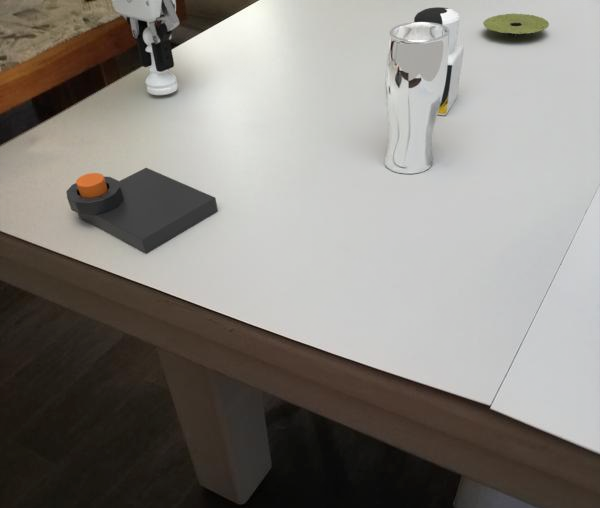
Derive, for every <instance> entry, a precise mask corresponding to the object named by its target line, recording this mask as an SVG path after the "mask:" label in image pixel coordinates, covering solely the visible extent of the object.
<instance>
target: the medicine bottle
mask: <svg viewBox="0 0 600 508" xmlns="http://www.w3.org/2000/svg"><path fill="white" fill-rule="evenodd" d="M460 21H461V17H460V14H459V13H458V12H457V11H455V10H454V9H452V8H449V7H440V6H439V7H438V6H437V7H436V6H435V7H429V8H424V9H423V10H421V11H419V12H417V13H416V15H415V16H414V19H413V22H432V23H438V24H441V25H444V26H446V27H447V28H449V30H450V33H449V52H448V66H447V75H446V82H445V87H444V92H443V96H442V100H441V103H440V107H439V110H438V114H437V116H443V117H444V116H447V114H448V113H449V111H450V109H451V108H452V106H453V104H454V103H455V101H456V100H457V98H458V96H459V95H458V94H459V87H460V80H461V72H462V65H463V56H464V49H465V48H464V46H463V45H461V44H457V43H458V35H459V27H460Z"/></svg>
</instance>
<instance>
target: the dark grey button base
mask: <svg viewBox="0 0 600 508" xmlns="http://www.w3.org/2000/svg"><path fill="white" fill-rule="evenodd" d="M104 179H105V182H106V185H107V188H108V190H107V192H106V193H104V194H102V195H100V196H95V197H82V196H81V195H80V193H79V190H78V187H77V184H76V182H75V183H73V184H71V185H70V186H69V188H68V189H67V190H66V198H67V200H68V204H69V206H70V210H71V211H72V212H74V213H76V214H77V216H78V218H79V219H81V220H82V221H85V222H86V223H88V224H90V225H92V226H93V227H95V228H97V229H99V230H101V231H103V232H105V233H107V234H108V235H110V236H112V237H114V238H116V239H118V240H120V241H122V242H123V243H126V244H127V245H129V246H130V247H132V248H134V249H136V250H138V251H140V252H142V253H143V254H145V255H148V254H149V253H151V252H152V251H154V250H156V249H157V248H159V247H161V246H162V245H164V244H166V243H167V242H169V241H172V239H175V238H177V236H179V235H181V234H183V233H184V232H187V230H189V229H191V228H193V227H194V226H196V225H198V224H200V223H202V222H203V221H205V220H207V219H208V218H210V217H211V216H214V215H215V214H216V213H218V212H219V210H218V204H217V198H216V197H215V196H213V195H210V194H209V193H206V192H204V191H202V190H199V189H196V188H195V187H192V186H190V185H187V184H186V183H183V182H180V181H178V180H176V179H173V178H171V177H169V176H167V175H164V174H162V173H160V172H158V171H155V170H153V169H151V168H149V167H144V168H143V169H140V170H138V171H137V172H135V173H133V174H131V175H129V176H127V177H124V178H122V179H121V180H118V179H116V178H113V177H111V176H104Z"/></svg>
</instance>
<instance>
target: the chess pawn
mask: <svg viewBox="0 0 600 508" xmlns="http://www.w3.org/2000/svg"><path fill="white" fill-rule="evenodd" d="M143 39H144V42H145V43H146V44H147V45H148V46H147V47H146V51H147V52H150V53H151V61H152V65H151V66H149V69H148V70H149V74H148V76H147V77H146V79H145V84H146V91H147V92H148V94H150V95H153V96H166V95H169V94H173V93H175V92H176V91H177V90H178V88H179V84H178V82H177V76H176V75H174V74H173V73H172V72H171V71H169V69H167V70H165V71H162V72H159V71H157V70H156V65H155V60H154V56H153V51H152V45H151V43H153V42H154V41H153V38H152V34H151V30H150V27H147V28H146V29H145V30H144V32H143Z"/></svg>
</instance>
